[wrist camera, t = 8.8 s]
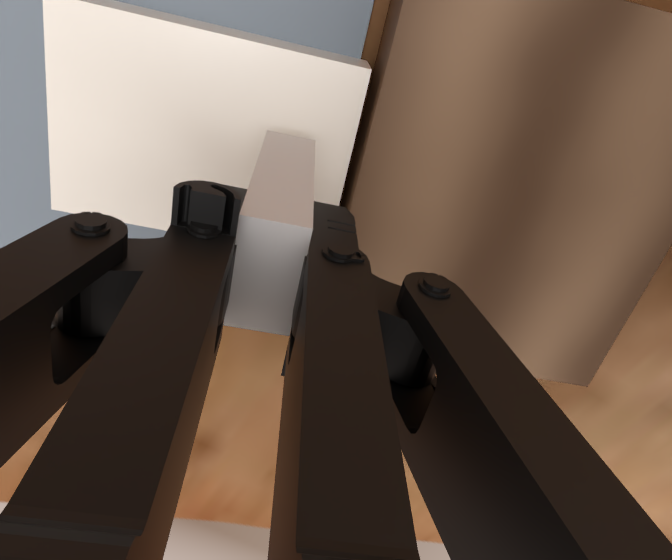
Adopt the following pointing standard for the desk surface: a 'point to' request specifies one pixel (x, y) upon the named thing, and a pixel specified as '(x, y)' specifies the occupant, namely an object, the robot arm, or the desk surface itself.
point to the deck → (522, 165)
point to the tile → (182, 107)
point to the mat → (195, 3)
